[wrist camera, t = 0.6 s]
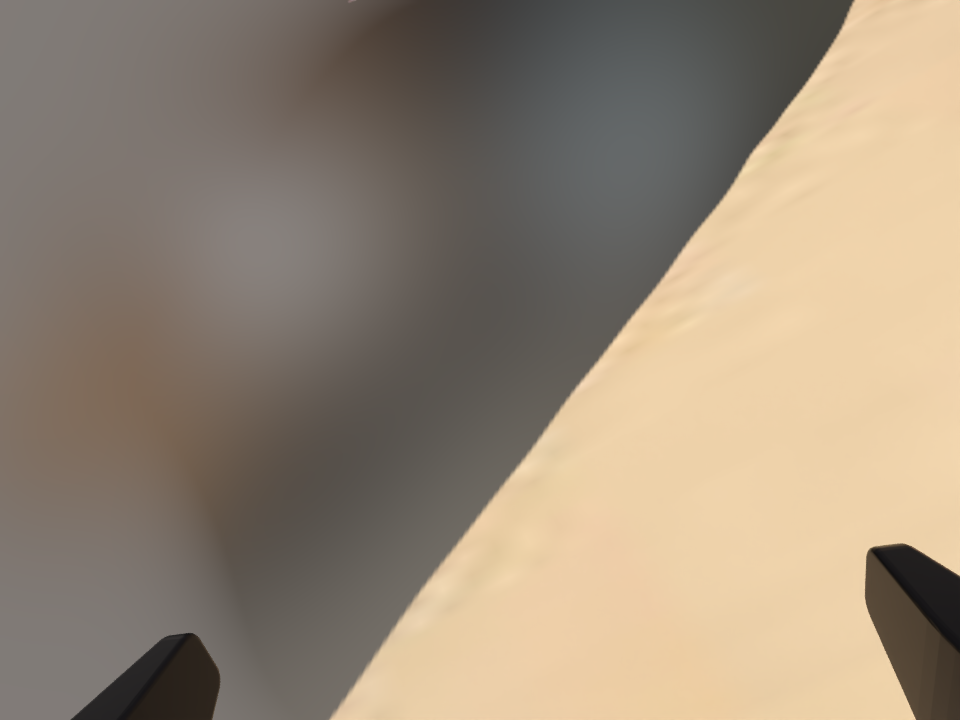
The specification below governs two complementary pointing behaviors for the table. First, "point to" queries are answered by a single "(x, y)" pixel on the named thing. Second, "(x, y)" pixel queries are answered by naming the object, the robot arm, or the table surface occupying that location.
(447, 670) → the table surface
